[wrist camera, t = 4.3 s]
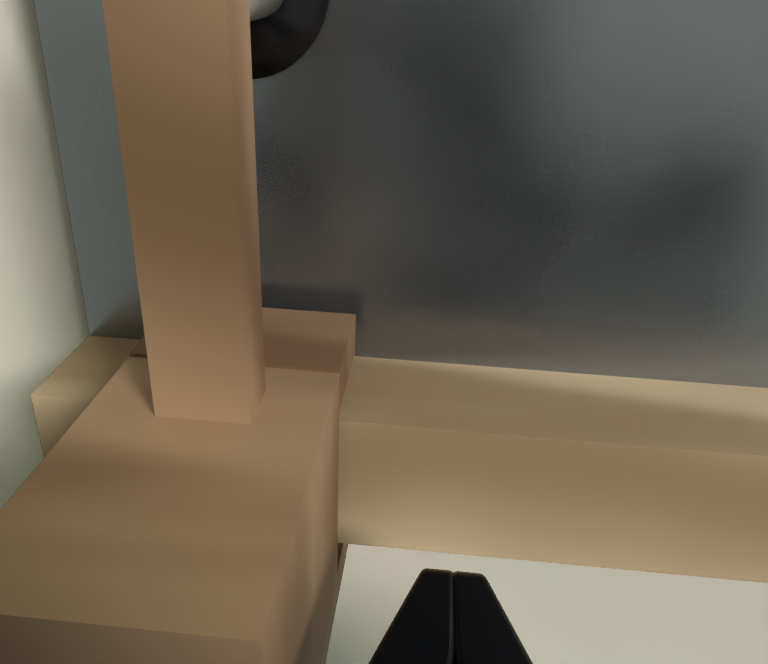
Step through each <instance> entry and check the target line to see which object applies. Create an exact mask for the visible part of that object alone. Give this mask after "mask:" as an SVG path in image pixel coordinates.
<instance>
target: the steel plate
mask: <svg viewBox="0 0 768 664" xmlns="http://www.w3.org/2000/svg"><path fill="white" fill-rule="evenodd" d="M34 4H35V10H36V16H37V22H38V28H39V35H40V41H41V47H42V53H43V59H44V65H45V71H46V77H47V83H48V89H49V95H50V101H51V107H52V113H53V119H54V125H55V131H56V137H57V143H58V149H59V155H60V161H61V167H62V173H63V179H64V185H65V191H66V197H67V203H68V209H69V215H70V221H71V227H72V233H73V239H74V245H75V251H76V257H77V264H78V270H79V276H80V282H81V288H82V294H83V300H84V306H85V312H86V318H87V324H88V330H89V336H100V337H113V338H126V339H139V340H141V339H142V338H143V336H144V335H145V334H144V326H143V318H142V311H141V303H140V295H139V287H138V279H137V271H136V263H135V255H134V248H133V240H132V232H131V224H130V216H129V208H128V200H127V192H126V184H125V177H124V169H123V161H122V153H121V145H120V137H119V129H118V121H117V114H116V106H115V98H114V90H113V82H112V74H111V66H110V58H109V50H108V43H107V35H106V27H105V19H104V11H103V3H102V0H34ZM250 36H251V60H252V83H253V106H254V130H255V153H256V176H257V200H258V223H259V246H260V270H261V293H262V307H264V308H277V309H291V310H305V311H318V312H332V313H345V314H356V327H355V354H354V356H359V357H372V358H385V359H398V360H411V361H424V362H437V363H450V364H463V365H476V366H488V367H501V368H514V369H527V370H540V371H553V372H566V373H579V374H592V375H605V376H618V377H631V378H644V379H657V380H670V381H683V382H696V383H709V384H722V385H734V386H747V387H760V388H768V0H283V2H282V4H281V5H280V7H279V8H278V9H277V10H276V11H275V12H274V13H273V14H271V15H269V16H267V17H265V18H261V19H257V20H254V21H250Z"/></svg>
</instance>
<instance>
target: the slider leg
mask: <svg viewBox="0 0 768 664" xmlns="http://www.w3.org/2000/svg"><path fill="white" fill-rule="evenodd" d="M282 2H283V0H102V3H103V11H104V19H105V27H106V35H107V43H108V50H109V58H110V66H111V74H112V82H113V90H114V98H115V106H116V114H117V121H118V129H119V137H120V145H121V153H122V161H123V169H124V177H125V184H126V192H127V200H128V208H129V216H130V224H131V232H132V240H133V248H134V255H135V263H136V271H137V279H138V287H139V295H140V303H141V311H142V318H143V326H144V334H145V335H144V336H143V338H142V339H141V340H140V341H139V342H138V344H137V345H136V346H135V347H134V348H133V349H132V351H131V352H130V353H129V355H130V357H129V358H128V359H127V360H126V361H125V363H124V364H123V365H122V366H121V367H120V368H119V370H118V371H117V372H116V373H115V374H114V376H113V377H112V378H111V379H110V380H109V382H108V383H107V384H106V385H105V386H104V388H103V389H102V390H101V391H100V392H99V394H98V395H97V396H96V397H95V398H94V399H93V401H92V402H91V403H90V404H89V405H88V407H87V408H86V409H85V410H84V411H83V413H82V414H81V415H80V416H79V417H78V419H77V420H76V421H75V422H74V423H73V424H72V426H71V427H70V428H69V429H68V430H67V432H66V433H65V434H64V435H63V436H62V438H61V439H60V440H59V441H58V442H57V444H56V445H55V446H54V447H53V448H52V449H51V451H50V452H49V453H48V454H47V455H46V457H45V458H44V459H43V460H42V461H41V463H40V464H39V465H38V466H37V467H36V469H35V470H34V471H33V472H32V473H31V475H30V476H29V477H28V478H27V479H26V480H25V482H24V483H23V484H22V485H21V486H20V488H19V489H18V490H17V491H16V492H15V494H14V495H13V496H12V497H11V498H10V500H9V501H8V502H7V503H6V504H5V505H4V507H3V508H2V509H1V510H0V664H325V661H326V656H327V651H328V646H329V640H330V635H331V630H332V624H333V619H334V614H335V609H336V603H337V600H338V595H339V590H340V584H341V579H342V574H343V568H344V563H345V558H346V553H347V547H348V543H338V466H339V411H340V407H341V403H342V399H343V396H344V392H345V388H346V384H347V381H348V377H349V373H350V369H351V365H352V362H353V358H354V354H355V327H356V314H345V313H332V312H318V311H305V310H291V309H277V308H264V307H262V293H261V270H260V246H259V223H258V200H257V176H256V153H255V130H254V106H253V83H252V60H251V36H250V21H254V20H257V19H261V18H265V17H267V16H269V15H271V14H273V13H274V12H275V11H276V10H277V9H278V8H279V7H280V5H281V4H282Z"/></svg>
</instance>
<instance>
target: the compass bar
mask: <svg viewBox="0 0 768 664" xmlns="http://www.w3.org/2000/svg"><path fill="white" fill-rule="evenodd" d="M139 341H140V340H139V339H126V338H113V337H100V336H89V337H88V338H87V339H86V340H85V341H84V342H83V343H82V344H81V345H80V346H79V347H78V348H77V349H76V350H75V351H74V352H73V353H72V354H71V355H70V356H69V357H68V358H67V359H66V360H65V361H64V362H63V363H62V364H61V365H60V366H59V367H58V368H57V369H56V370H55V371H54V372H53V373H52V374H51V375H50V376H49V377H48V378H47V379H46V380H45V381H44V382H43V383H42V384H41V385H40V386H39V387H38V388H37V389H36V390H35V391H34V392H33V393H32V394H31V400H32V404H33V409H34V414H35V418H36V423H37V427H38V432H39V437H40V441H41V446H42V450H43V455H44V458H45V457H46V455H47V454H48V453H49V452H50V451H51V449H52V448H53V447H54V446H55V445H56V444H57V442H58V441H59V440H60V439H61V438H62V436H63V435H64V434H65V433H66V432H67V430H68V429H69V428H70V427H71V426H72V424H73V423H74V422H75V421H76V420H77V419H78V417H79V416H80V415H81V414H82V413H83V411H84V410H85V409H86V408H87V407H88V405H89V404H90V403H91V402H92V401H93V399H94V398H95V397H96V396H97V395H98V394H99V392H100V391H101V390H102V389H103V388H104V386H105V385H106V384H107V383H108V382H109V380H110V379H111V378H112V377H113V376H114V374H115V373H116V372H117V371H118V370H119V368H120V367H121V366H122V365H123V364H124V363H125V361H126V360H127V359H128V358H129V357H130V355H129V353H130V352H131V351H132V349H133V348H134V347H135V346H136V345H137V344H138V342H139ZM338 543H348V544H358V545H369V546H380V547H390V548H401V549H412V550H422V551H433V552H444V553H454V554H465V555H476V556H486V557H497V558H508V559H518V560H529V561H540V562H550V563H561V564H572V565H582V566H593V567H604V568H614V569H625V570H635V571H646V572H657V573H667V574H678V575H689V576H699V577H710V578H721V579H731V580H742V581H753V582H763V583H768V388H760V387H747V386H734V385H722V384H709V383H696V382H683V381H670V380H657V379H644V378H631V377H618V376H605V375H592V374H579V373H566V372H553V371H540V370H527V369H514V368H501V367H488V366H476V365H463V364H450V363H437V362H424V361H411V360H398V359H385V358H372V357H359V356H354V358H353V362H352V365H351V369H350V373H349V377H348V381H347V384H346V388H345V392H344V396H343V399H342V403H341V407H340V411H339V466H338Z"/></svg>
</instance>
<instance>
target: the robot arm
mask: <svg viewBox="0 0 768 664" xmlns="http://www.w3.org/2000/svg"><path fill="white" fill-rule="evenodd" d="M369 664H533V663H532V661H531V659H530V658H529V656H528V654H527V652H526V650H525V648H524V647H523V645H522V643H521V641H520V639H519V637H518V636H517V634H516V632H515V630H514V628H513V626H512V625H511V623H510V621H509V619H508V617H507V615H506V614H505V612H504V610H503V608H502V606H501V604H500V602H499V601H498V599H497V597H496V595H495V593H494V591H493V590H492V588H491V586H490V584H489V582H488V580H487V579H486V577H485V576H484V575H482V574H479V573H469V572H459V571H457V572H454V573H453V572H451V571H449V570H438V569H428V568H426V569H423V570H422V571H421V572H420V574H419V576H418V577H417V579H416V581H415V583H414V584H413V586H412V588H411V590H410V592H409V593H408V595H407V597H406V599H405V600H404V602H403V604H402V606H401V607H400V609H399V611H398V613H397V614H396V616H395V618H394V620H393V621H392V623H391V625H390V627H389V629H388V630H387V632H386V634H385V636H384V637H383V639H382V641H381V643H380V644H379V646H378V648H377V650H376V651H375V653H374V655H373V657H372V658H371V660H370V662H369Z"/></svg>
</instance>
